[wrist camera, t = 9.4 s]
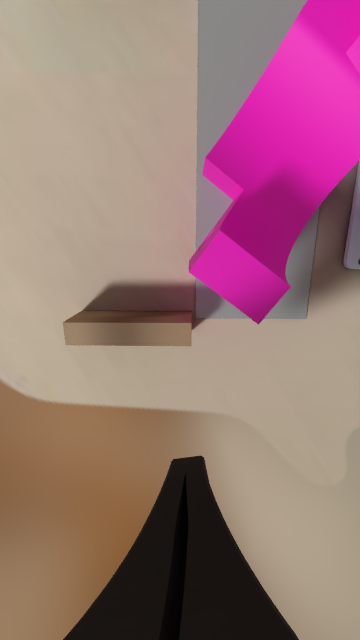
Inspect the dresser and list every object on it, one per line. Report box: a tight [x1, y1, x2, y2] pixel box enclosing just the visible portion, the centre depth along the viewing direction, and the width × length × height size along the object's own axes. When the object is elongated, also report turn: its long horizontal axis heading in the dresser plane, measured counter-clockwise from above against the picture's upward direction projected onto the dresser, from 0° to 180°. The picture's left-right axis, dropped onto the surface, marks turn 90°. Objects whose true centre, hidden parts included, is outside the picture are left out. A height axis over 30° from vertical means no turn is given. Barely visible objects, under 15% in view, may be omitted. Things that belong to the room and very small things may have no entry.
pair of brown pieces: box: [63, 311, 192, 346], centre depth 16 cm, size 8×21×3 cm, turn 0°
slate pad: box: [195, 0, 320, 319], centre depth 17 cm, size 8×19×1 cm, turn 0°
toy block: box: [189, 0, 360, 324], centre depth 13 cm, size 15×6×8 cm, turn 144°
